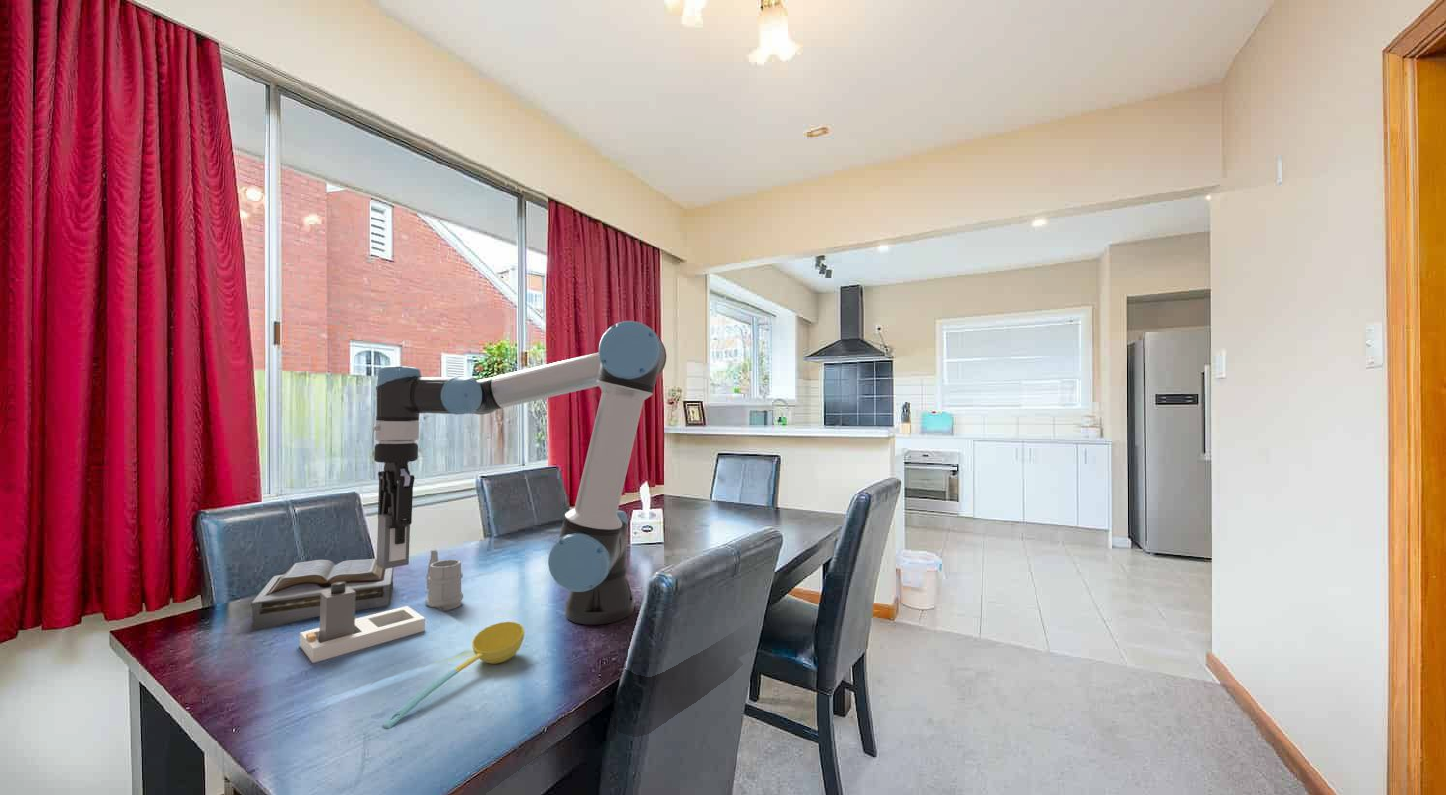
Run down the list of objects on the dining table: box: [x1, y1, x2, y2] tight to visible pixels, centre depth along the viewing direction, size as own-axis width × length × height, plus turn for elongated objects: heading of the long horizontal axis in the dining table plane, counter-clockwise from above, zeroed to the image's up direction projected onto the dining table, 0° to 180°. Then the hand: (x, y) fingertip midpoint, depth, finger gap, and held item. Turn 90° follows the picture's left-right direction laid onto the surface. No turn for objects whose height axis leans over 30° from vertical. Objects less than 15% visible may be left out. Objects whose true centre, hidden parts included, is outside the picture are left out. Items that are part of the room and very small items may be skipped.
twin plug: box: [318, 582, 356, 643], centre depth 96 cm, size 4×4×12 cm
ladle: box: [381, 621, 525, 729], centre depth 86 cm, size 9×26×6 cm, turn 161°
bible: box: [250, 558, 395, 632], centre depth 119 cm, size 23×27×10 cm
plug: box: [376, 507, 411, 569], centre depth 104 cm, size 4×4×12 cm
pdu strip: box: [299, 605, 426, 664], centre depth 100 cm, size 10×18×4 cm, turn 140°
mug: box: [425, 549, 464, 612], centre depth 120 cm, size 8×12×12 cm, turn 54°
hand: (392, 557), depth 103 cm, fingers closed on plug, 4 cm apart
